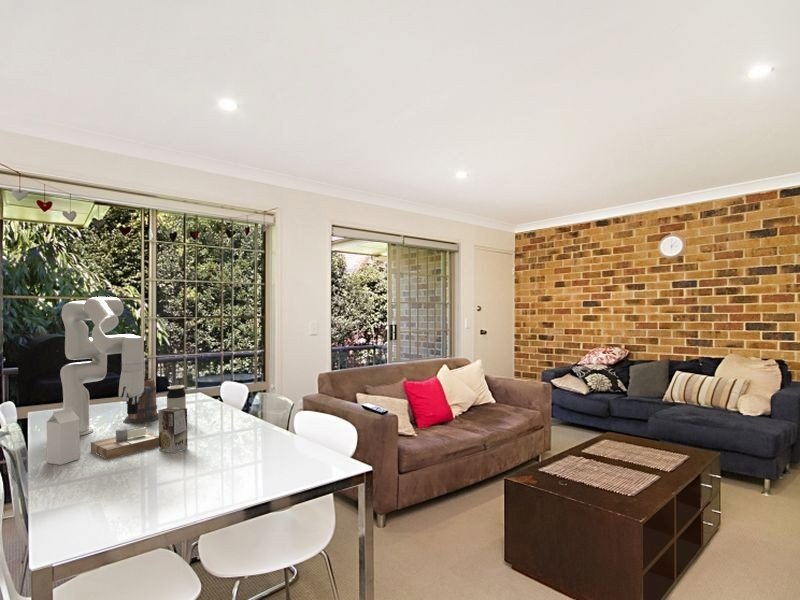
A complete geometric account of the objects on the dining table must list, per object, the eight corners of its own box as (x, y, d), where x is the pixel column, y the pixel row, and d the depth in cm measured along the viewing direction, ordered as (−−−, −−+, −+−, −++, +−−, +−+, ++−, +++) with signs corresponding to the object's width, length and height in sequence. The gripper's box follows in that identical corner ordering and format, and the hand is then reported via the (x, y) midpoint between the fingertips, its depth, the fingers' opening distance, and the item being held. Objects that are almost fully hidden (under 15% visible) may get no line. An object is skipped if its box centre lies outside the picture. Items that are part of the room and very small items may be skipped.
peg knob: (117, 442, 179) (117, 431, 179) (114, 440, 182) (114, 430, 182) (146, 436, 187) (146, 426, 187) (143, 434, 190) (143, 424, 190)
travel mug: (169, 427, 214) (169, 388, 214) (165, 424, 220) (164, 386, 220) (187, 424, 219) (187, 386, 219) (182, 421, 225) (182, 384, 225)
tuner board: (91, 451, 181) (90, 441, 181) (144, 438, 196) (144, 430, 197) (107, 459, 171) (107, 449, 171) (162, 445, 187) (162, 436, 187)
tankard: (119, 419, 230) (119, 379, 230) (156, 413, 241) (156, 375, 241) (129, 428, 213) (129, 385, 213) (169, 422, 224) (168, 381, 224)
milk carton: (80, 459, 172) (79, 408, 172) (60, 465, 165) (60, 412, 165) (66, 457, 174) (66, 406, 174) (46, 463, 167) (46, 411, 167)
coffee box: (188, 448, 182) (188, 408, 182) (174, 453, 177) (174, 411, 177) (172, 445, 186) (172, 406, 186) (158, 450, 180) (157, 409, 180)
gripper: (134, 364, 189) (133, 408, 189) (111, 370, 174) (110, 418, 174) (152, 364, 189) (152, 409, 189) (131, 370, 174) (130, 419, 174)
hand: (132, 413), depth 182 cm, fingers closed
